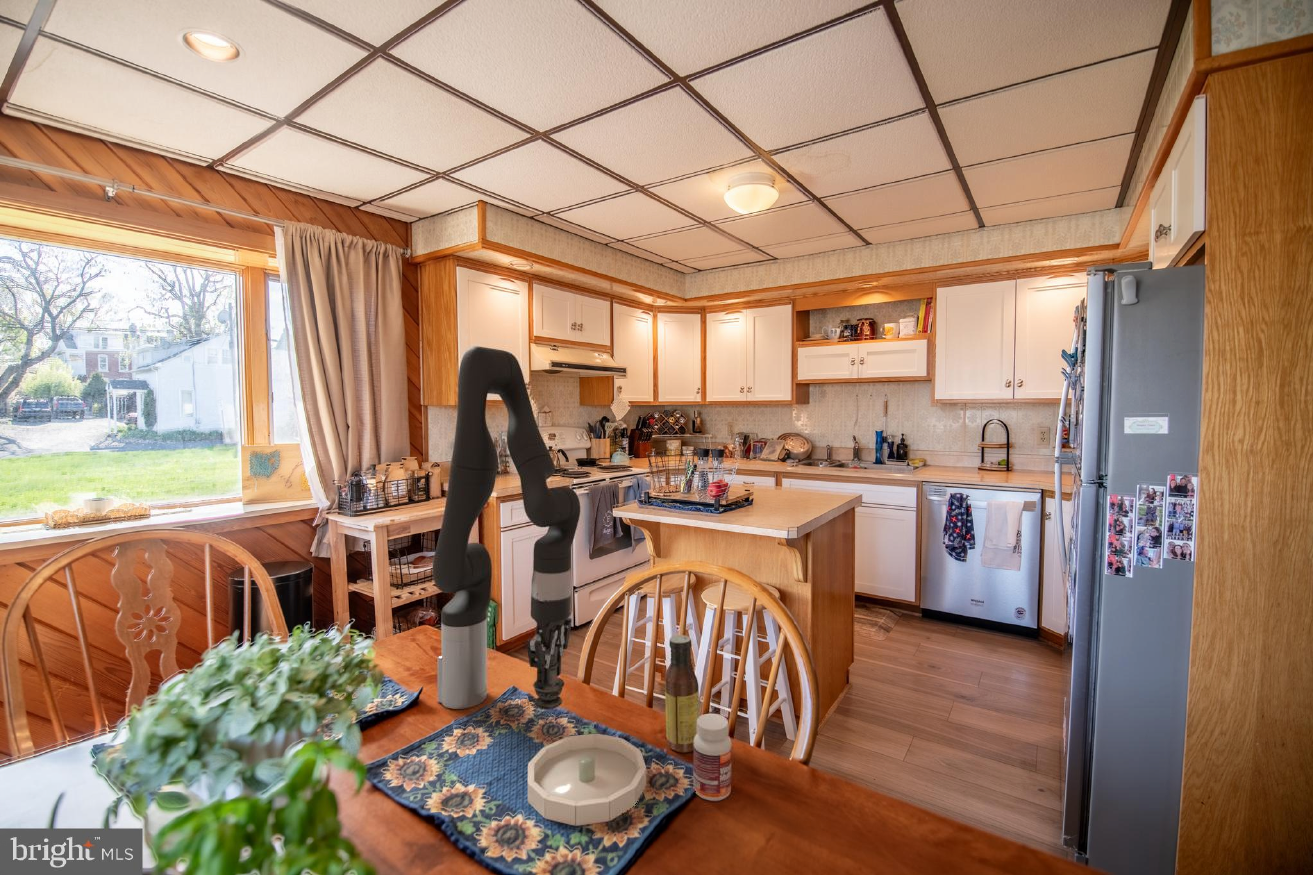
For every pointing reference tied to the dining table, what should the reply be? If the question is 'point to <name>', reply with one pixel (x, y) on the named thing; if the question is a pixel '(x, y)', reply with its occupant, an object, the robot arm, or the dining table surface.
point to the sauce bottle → (681, 696)
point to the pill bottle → (712, 758)
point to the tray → (586, 779)
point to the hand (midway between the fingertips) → (548, 679)
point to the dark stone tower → (550, 686)
